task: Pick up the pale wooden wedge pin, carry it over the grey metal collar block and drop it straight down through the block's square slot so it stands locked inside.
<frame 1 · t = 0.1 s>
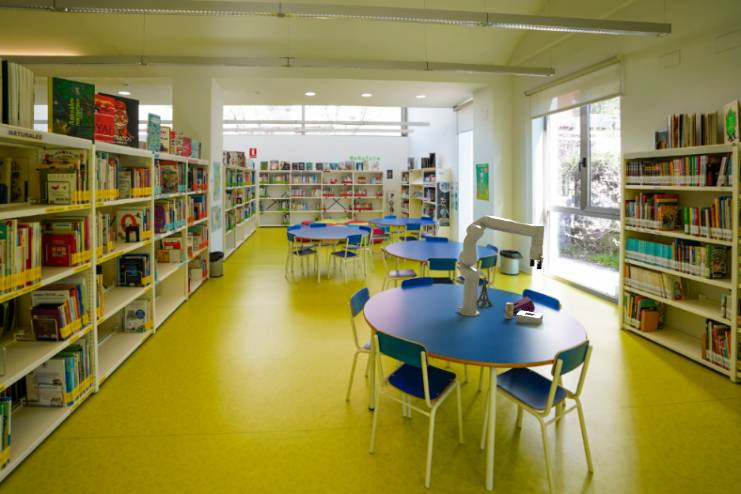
hand: (535, 267, 303), 31 cm above the table, tool pointing down, fingers open, 9 cm apart
wedge pin: (509, 318, 294), on the table
maroon shoe: (518, 312, 309), on the table
collar block: (529, 321, 287), on the table
eiffel tower: (483, 305, 323), on the table
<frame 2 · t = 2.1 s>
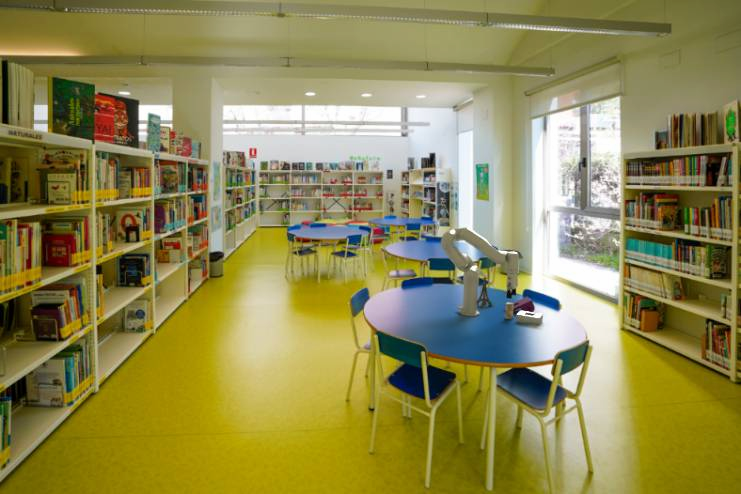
hand: (511, 296, 291), 15 cm above the table, tool pointing down, fingers open, 9 cm apart
nothing on the table moved.
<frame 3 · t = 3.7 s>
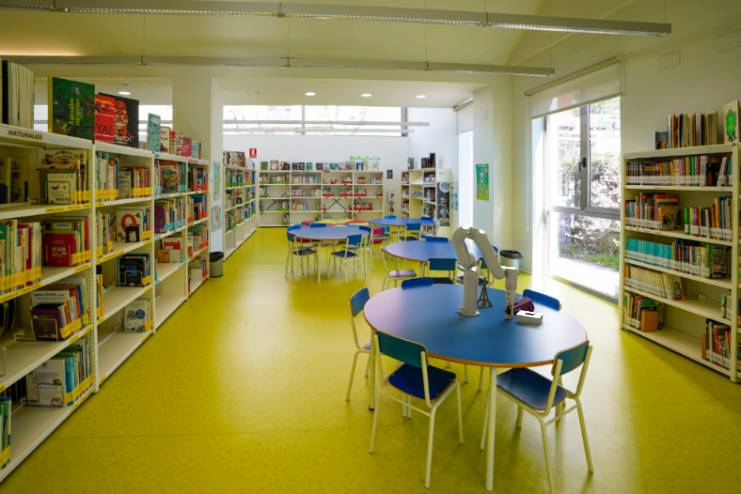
hand: (509, 313, 293), 3 cm above the table, tool pointing down, fingers closed on wedge pin, 4 cm apart
wedge pin: (509, 318, 294), on the table, touching gripper
everything else where it was.
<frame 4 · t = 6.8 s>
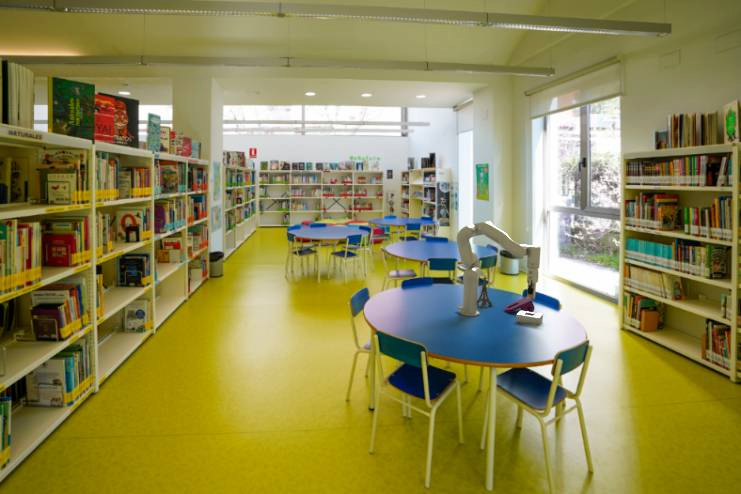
hand: (531, 293, 284), 19 cm above the table, tool pointing down, fingers closed on wedge pin, 4 cm apart
wedge pin: (531, 298, 284), point 16 cm above the table, touching gripper
everything else where it was.
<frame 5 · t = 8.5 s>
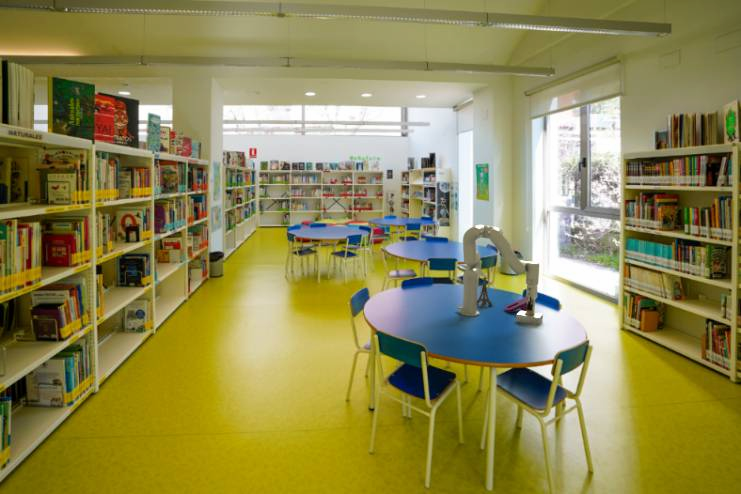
hand: (530, 309, 285), 8 cm above the table, tool pointing down, fingers closed on wedge pin, 4 cm apart
wedge pin: (530, 314, 286), point 5 cm above the table, touching gripper
everything else where it was.
when the fingers open (6 cm above the table, at t = 9.7 s): wedge pin drops 3 cm, resting in collar block.
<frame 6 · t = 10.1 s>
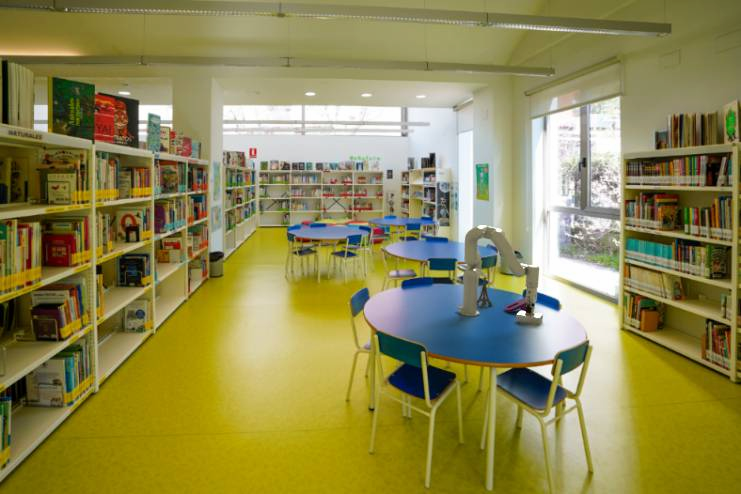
hand: (530, 311, 286), 7 cm above the table, tool pointing down, fingers open, 8 cm apart
wedge pin: (529, 321, 287), resting in collar block
everything else where it was.
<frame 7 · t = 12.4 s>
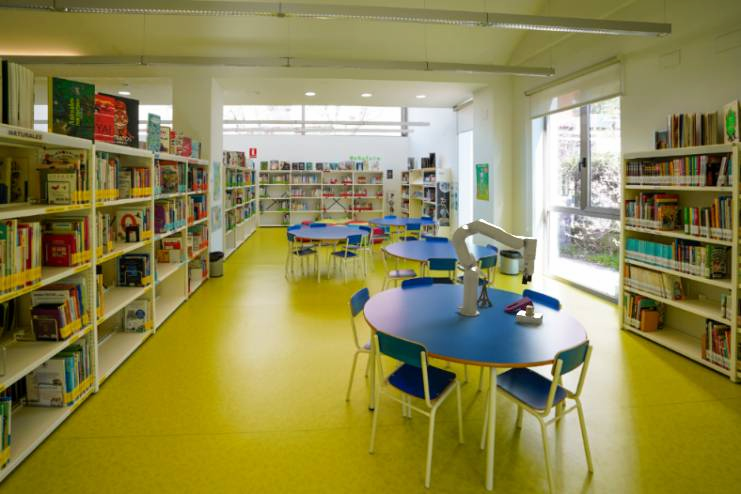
hand: (526, 282, 287), 25 cm above the table, tool pointing down, fingers open, 9 cm apart
nothing on the table moved.
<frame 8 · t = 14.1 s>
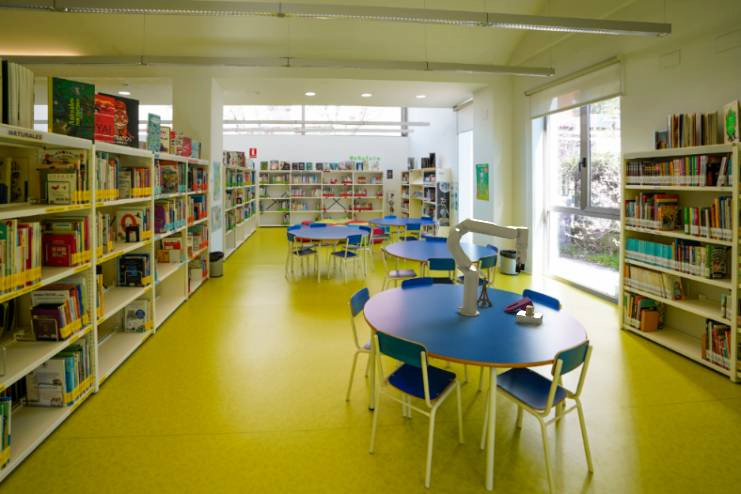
hand: (519, 271, 294), 30 cm above the table, tool pointing down, fingers open, 9 cm apart
nothing on the table moved.
at the end: wedge pin 0.0 cm off-centre on the collar block, point 0.0 cm above the collar block's base; wedge pin tilted 0°; the gripper is holding nothing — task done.
